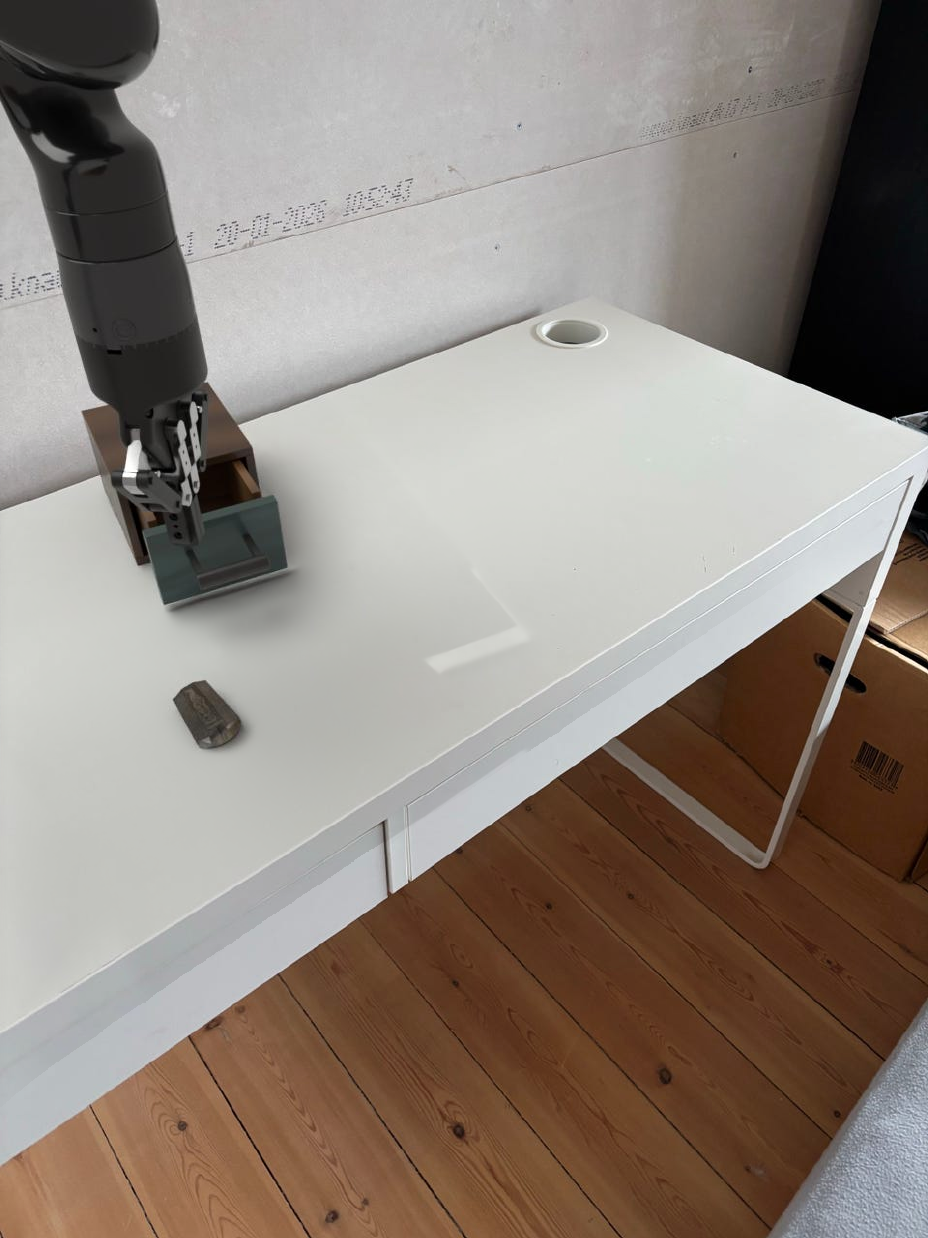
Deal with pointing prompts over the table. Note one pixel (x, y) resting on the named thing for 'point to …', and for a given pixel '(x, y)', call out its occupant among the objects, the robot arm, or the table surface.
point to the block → (206, 714)
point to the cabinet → (111, 453)
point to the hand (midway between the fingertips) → (188, 540)
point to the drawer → (217, 536)
